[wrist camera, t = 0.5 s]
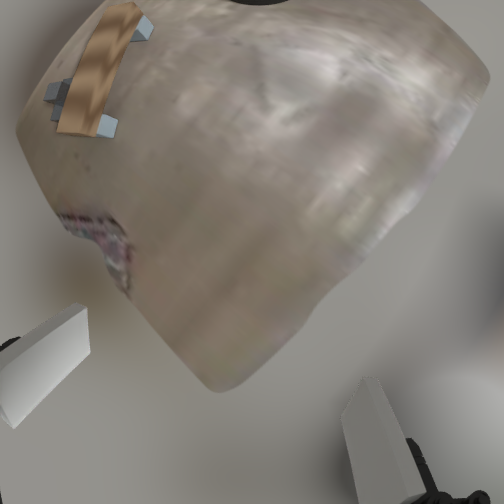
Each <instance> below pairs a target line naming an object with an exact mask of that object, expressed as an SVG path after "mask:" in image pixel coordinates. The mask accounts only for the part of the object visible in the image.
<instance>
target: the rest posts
mask: <svg viewBox="0 0 504 504" xmlns="http://www.w3.org/2000/svg"><path fill="white" fill-rule="evenodd" d="M153 28H154V26H153V25H152V24H151V23H150V21H149V20H148V19H147V18H146V16H142V18H141V19H140V21H139V23H138V25H137V27H136V29H135V31H134V33H133V35H132V37H131V39H130V42H131V41H143V40H148V39H149V36H150V34H151V32H152V30H153ZM117 123H118V120H117V119H115V118H112V117H110V116H107V115H105V114H102V116H101V119H100V123H99V126H98V130H97V134H96V137H103V138H113V137H114V133H115V130H116V126H117Z"/></svg>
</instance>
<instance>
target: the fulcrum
mask: <svg viewBox="0 0 504 504" xmlns="http://www.w3.org/2000/svg"><path fill="white" fill-rule="evenodd" d="M72 80H73V78H69V79H64V80H63V82H62V81H61V82H55V83H50V84H49V85H48V88H47V91H46V94H45V97H44V100H43V101H46V102H49V103H53V104H55V106H54V109H53V112H52V116H51V119H50V120H51V121H55V122H59V120H60V116H61V113H62V109H63V106H64V103H65V100H66V97H67V94H68V91H69V88H70V86H71V83H72Z"/></svg>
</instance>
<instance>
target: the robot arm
mask: <svg viewBox="0 0 504 504" xmlns="http://www.w3.org/2000/svg"><path fill="white" fill-rule="evenodd" d="M232 1H235V2H239V3H243V4H250V5H269V4H276V3H281V2H285V1H288V0H232ZM89 354H90V344H89V333H88V318H87V307H85V306H83V305H80V304H78V303H76V302H75V303H74V304H72V305H70V306H69V307H67V308H66V309H64V310H63V311H61V312H59V313H58V314H56V315H55V316H53V317H52V318H50V319H49V320H47V321H45V322H44V323H42V324H41V325H40V326H38V327H36V328H35V329H33V330H32V331H30V332H29V333H27V334H26V335H24V336H23V337H16V338H12V339H9V340H8V341H6V342H5V343H3V344H2V346H0V415H1V417H2V419H3V420H4V421H5V422H6V423H8V424H9V425H10V426H11V427H12V428H13V429H15V428H16V427H17V426H18V425H19V423H21V421H22V420H23V419H24V418H25V417H26V416H27V415H28V414H29V413H30V412H31V411H32V410H33V409H34V408H35V407H36V406H37V405H38V404H39V403H40V402H41V401H42V400H43V399H44V398H45V397H46V396H47V395H48V394H49V393H50V392H51V390H53V389H54V388H55V387H56V386H57V385H58V384H59V383H60V381H62V380H63V379H64V378H65V377H66V376H67V375H68V374H69V373H70V372H71V371H72V370H73V369H74V368H75V367H76V366H77V365H78V364H79V363H80V362H81V361H82V360H83V359H84V358H86V357H87V356H88V355H89ZM340 419H341V423H342V427H343V431H344V435H345V439H346V444H347V448H348V452H349V457H350V461H351V466H352V471H353V475H354V481H355V485H356V491H357V496H358V501H359V504H490V498H489V496H488V494H487V493H486V492H484V491H481V490H478V491H475V492H473V493H472V494H471V495H470V496H468V497H467V498H458V499H453V498H452V497H451V495H449V494H448V493H446V492H439V491H438V489H437V487H436V485H435V482H434V480H433V478H432V475H431V473H430V471H429V468H428V466H427V464H426V461H425V459H424V457H422V456H423V455H422V452H421V450H420V448H419V446H418V445H417V444H416V443H415V442H414V441H413V440H412V438H407V439H405V437H404V435H403V433H402V430H401V428H400V426H399V424H398V421H397V419H396V417H395V415H394V413H393V410H392V408H391V406H390V404H389V402H388V400H387V398H386V396H385V394H384V392H383V389H382V387H381V385H380V383H379V381H378V379H377V378H371V377H363V378H362V380H361V382H360V384H359V385H358V387H357V389H356V391H355V393H354V394H353V396H352V398H351V400H350V401H349V403H348V405H347V407H346V408H345V410H344V412H343V413H342V415H341V416H340ZM0 504H2V498H1V493H0Z"/></svg>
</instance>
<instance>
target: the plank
mask: <svg viewBox="0 0 504 504" xmlns="http://www.w3.org/2000/svg"><path fill="white" fill-rule="evenodd" d="M142 16H143V13H142V11H141V10H140V9H139V8H138V7H137V5H136V4H135V3H134V2H129V3H123V4H118V5H114V6H109V7H108V8H107V9H106V11H105V13H104V14H103V16H102V18H101V20H100V21H99V23H98V25H97V27H96V29H95V31H94V33H93V35H92V37H91V39H90V41H89V43H88V45H87V47H86V49H85V51H84V54H83V56H82V58H81V60H80V63H79V65H78V67H77V70H76V72H75V75H74V78H73V80H72V83H71V86H70V88H69V91H68V94H67V97H66V100H65V103H64V106H63V109H62V113H61V116H60V120H59V123H58V127H57V131H56V132H57V133H62V134H66V135H71V136H84V137H96V134H97V130H98V126H99V123H100V119H101V116H102V112H103V109H104V106H105V103H106V100H107V97H108V94H109V91H110V88H111V85H112V82H113V80H114V77H115V74H116V72H117V69H118V67H119V64H120V62H121V60H122V57H123V55H124V53H125V50H126V48H127V46H128V44H129V42H130V39H131V37H132V35H133V33H134V31H135V29H136V27H137V25H138V23H139V21H140V19H141V18H142Z"/></svg>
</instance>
